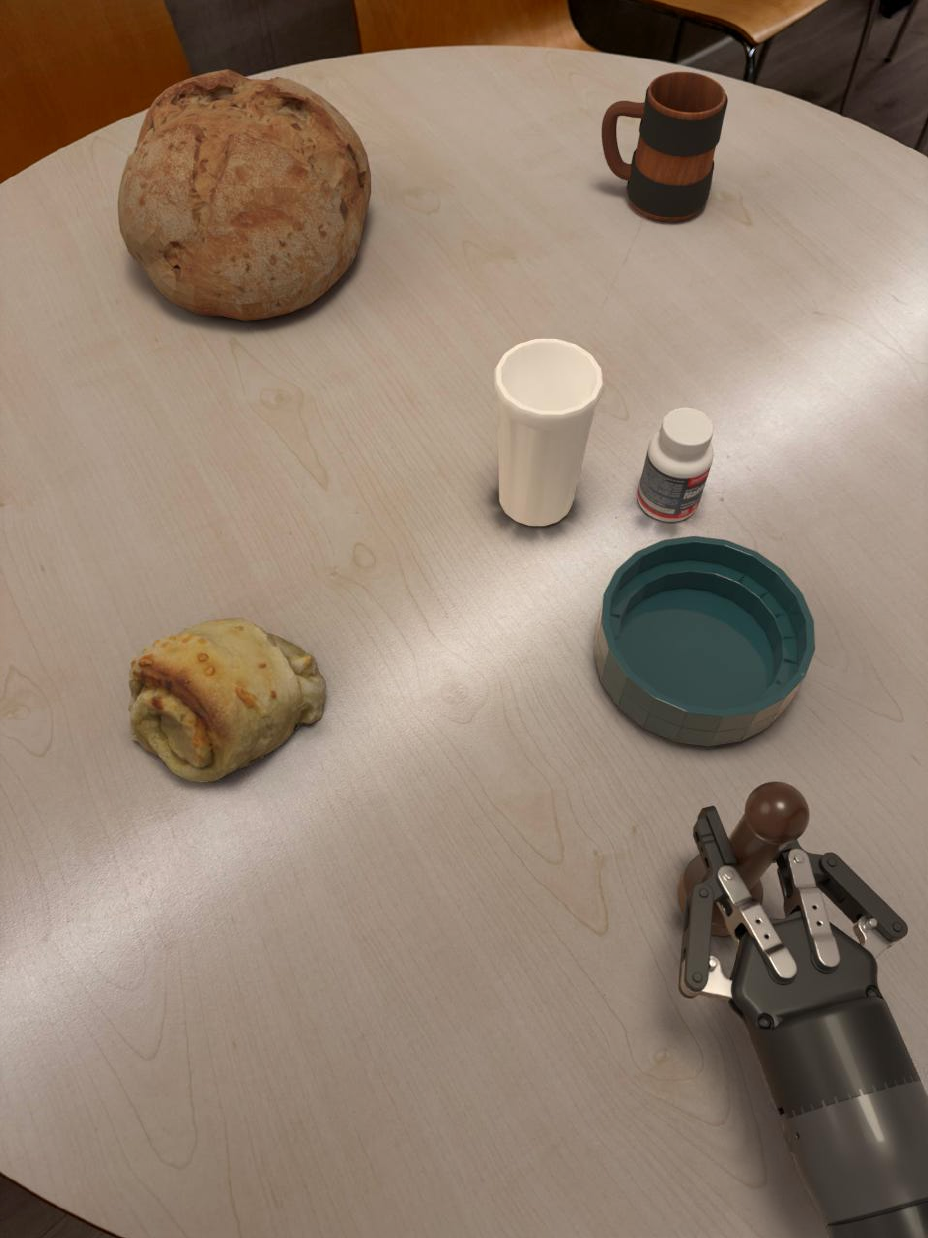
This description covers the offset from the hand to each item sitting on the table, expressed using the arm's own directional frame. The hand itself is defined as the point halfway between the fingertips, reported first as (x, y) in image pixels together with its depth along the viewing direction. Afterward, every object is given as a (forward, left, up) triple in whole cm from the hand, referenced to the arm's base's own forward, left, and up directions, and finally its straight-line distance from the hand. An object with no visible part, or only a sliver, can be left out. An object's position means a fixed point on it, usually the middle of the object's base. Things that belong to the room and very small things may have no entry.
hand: (731, 806), depth 62 cm
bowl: (-8, -13, -9) cm, 18 cm away
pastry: (+25, -25, -9) cm, 36 cm away
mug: (-36, -62, -9) cm, 73 cm away
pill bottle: (-15, -27, -9) cm, 33 cm away
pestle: (+1, +3, -9) cm, 9 cm away
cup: (-5, -32, -9) cm, 34 cm away
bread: (+4, -74, -9) cm, 75 cm away
